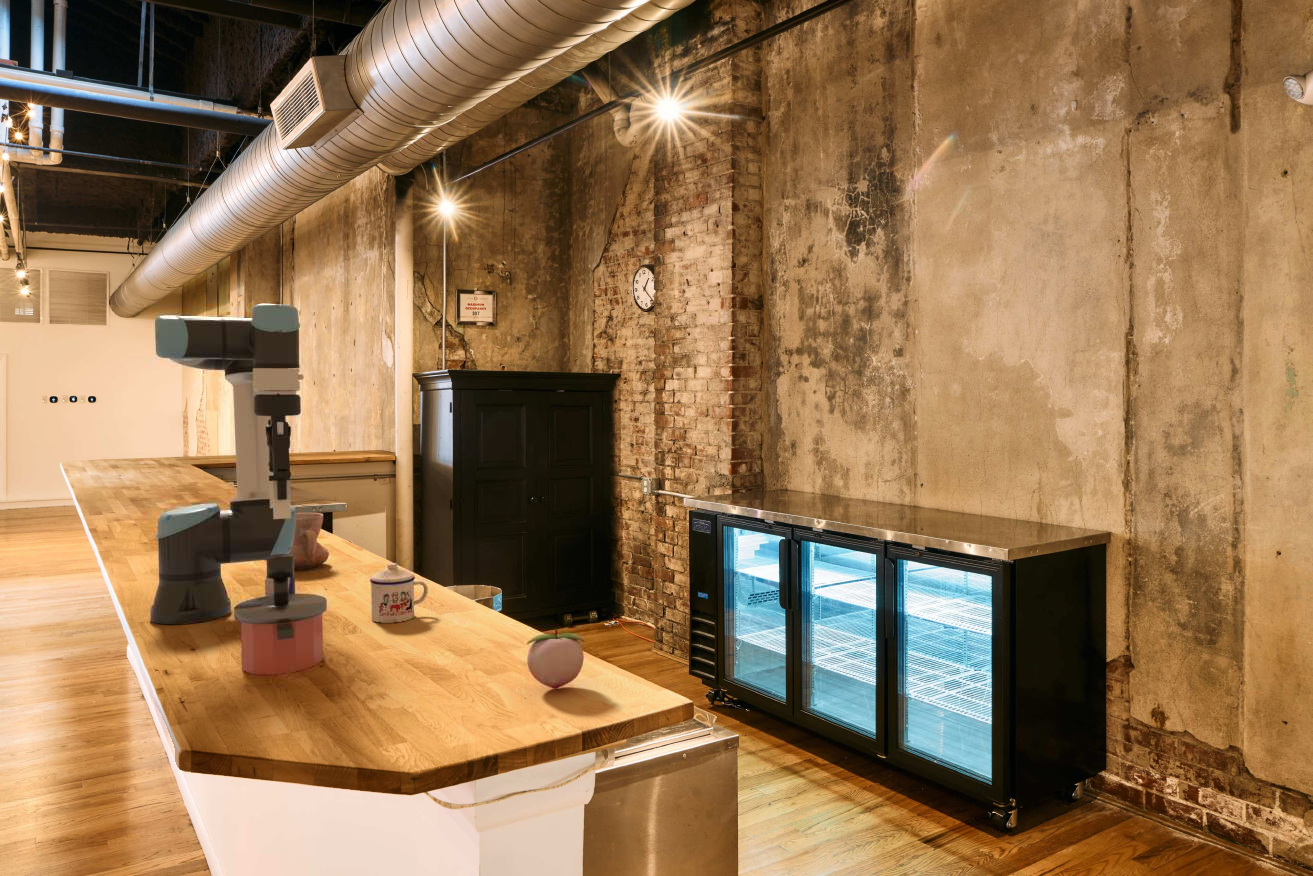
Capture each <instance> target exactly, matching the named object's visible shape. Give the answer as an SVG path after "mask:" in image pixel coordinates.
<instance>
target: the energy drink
mask: <svg viewBox="0 0 1313 876" xmlns="http://www.w3.org/2000/svg"><path fill="white" fill-rule="evenodd" d="M264 591H265V592H264V595H265V596H272V595H274V588H273V579H270V578H267V575H266V577H265V580H264ZM288 594H296V578H295V575H294V576H292V577H288ZM265 596H264V597H265Z"/></svg>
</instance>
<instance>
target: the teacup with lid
mask: <svg viewBox="0 0 1313 876" xmlns="http://www.w3.org/2000/svg"><path fill="white" fill-rule="evenodd" d="M415 579H416V577H415V574H414V573H413V572H410V571H407V570H405V569H403V568H402V567H398V563H396V562H390V563H388V564H387V567H386V568H384V569H382V570H381V571H380V572H377V573H374V574H372V575H371V577H370V579H369V582H370V590H371V591H370V595H371V597H370V598H371V601H370V602H371V604H370V605H371V620H372V621H374V622H375V623H378V622H381V623H380V624H395V623H394V622H399V623H403V622H402V621H404V622H407V621H409V620H411V619H413V618H414V616H415V606H416V605H419V604H420V605H421V603H423V602H424V601H425V600H426V598H427V596H428V592H429V587H428V585H427V583H425V582H424V581H422V580H415ZM416 585H417V586H418V585H420V586H423V587H422V588H423V593H422V595H421V597H420V598H419V599H416V600H415V586H416Z"/></svg>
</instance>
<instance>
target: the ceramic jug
mask: <svg viewBox="0 0 1313 876" xmlns="http://www.w3.org/2000/svg"><path fill="white" fill-rule="evenodd" d="M295 514H296V515H295V516H296V524H295V534H294V541H293V546H292V549H291V551H290V553H289V554H292V555H294V570H307V569H311V568H312V569H313V568H315V567H318V566H322V565H323V564H324V563H326V562H327V560H328V558H329V556H330V553H329V550H328V549H327V548H326V547H325V546H324V545H322V544H320V543H319V542H318V541H317V539H318V537H319V535H320V533H321V530H322V525H323V522H324V514H323V513H321V512H320V513H319V512H296V513H295Z"/></svg>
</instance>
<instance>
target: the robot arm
mask: <svg viewBox="0 0 1313 876" xmlns="http://www.w3.org/2000/svg"><path fill="white" fill-rule="evenodd" d="M251 311H252V312H251V317H250V318H248V317H247V318H246V317H245V318H243V317H213V316H187V315H186V316H185V315H184V316H183V315H181V316H180V315H176V314H175V315H160V316H157V317H156V318H155V320H154V335H155V337H154V338H155V339H154V340H155V354H156V355H157V357H159V358H161V359H169V360H170V361H172V362H174V363H176V364H178V365H181V366H184V367H185V366H186V367H189V368H194V369H200V370H207V371H224V379H225V380H226V381H227V382H228V383H229V384H230V385H232V391H233V392H232V394H233V395H232V396H233V397H232V398H233V415H234V416H233V418H234V419H233V420H234V440H235V441H234V443H235V445H234V447H235V467H236V494H235V495H234V496H233V497H232V498H231V499H230V500H229V509H221V507H220V506H219V504H218V503H213V502H212V503H202V504H201V503H200V504H195V505H194V504H193V505H188V506H182V507H179V508H175V509H171V510H168V511H166V512H163V513H162V514H161V515H160V516H159V517H158V520H157V534H156V535H155V536H156V539H157V547H158V548H157V549H158V550H157V551H158V553H157V554H158V560H157V561H158V585H157V588H156V591H155V595H154V599H153V604H152V605H151V607H150V610H149V611H150V613H149V614H150V621H151V622H152V623H155V624H161V625H163V624H164V625H185V624H187V625H188V624H194V623H202V622H206V621H211V620H217V619H219V618H222V617H224V616H227V615H229V614H230V613H231V612H232V603H231V598H230V597H229V596H228V592H227V589H226V587H225V583H224V582H223V578H222V572H221V571H222V568H221V567H222V566H221V565H223V564H234V563H245V562H256V561H257V562H258V561H259V562H260V561H267V556H271V555H276V554H289V553H290V551H291V549H292V546H293V541H294V534H295V524H296V516H295V515H296V514H295V513H297V512H296V507H295V506H294V505H292V504H291V503H292V501H291V499H292V498H291V480H290V479H291V477H292V472H291V468H290V467H291V464H290V463H291V462H290V448H291V435H292V428H291V427H292V426H290V425H289V422H288V421H287V420H286V418H287V417H288V416H289V417H291V416H292V417H293V416H299V415H300V414H301V413H302V410H301V409H302V406H301V404H302V403H301V399H302V398H301V396H300V395H299V394H297V392H300V390H301V382H300V381H301V380H304V374H300V368H301V367H300V328H301V323H300V321H299V318H300V317H299V310H298V308H297V307H296V306H294V305H291V304H282V303H281V304H277V303H259V304H256V305H254V306H253V307H252V309H251ZM286 416H287V417H286Z"/></svg>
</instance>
